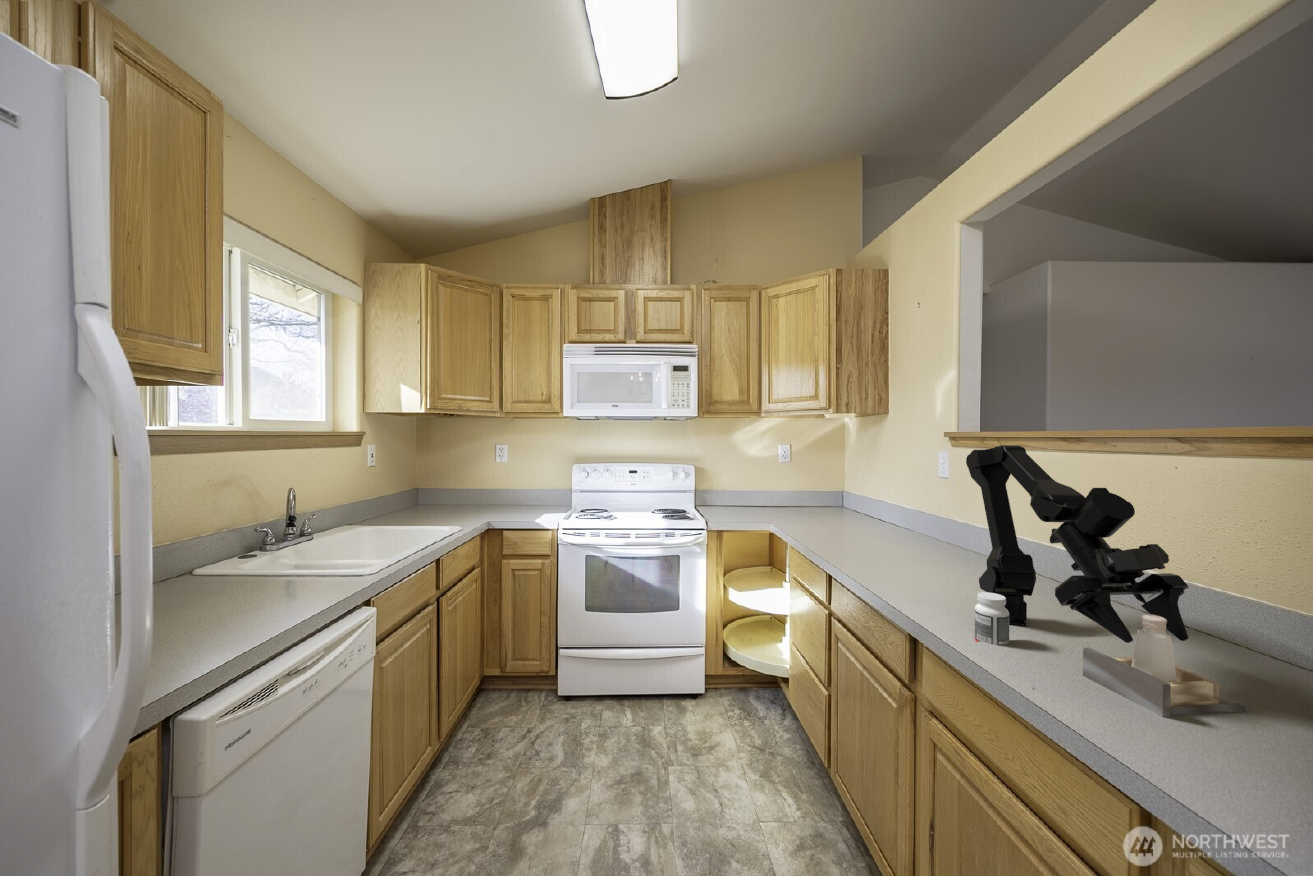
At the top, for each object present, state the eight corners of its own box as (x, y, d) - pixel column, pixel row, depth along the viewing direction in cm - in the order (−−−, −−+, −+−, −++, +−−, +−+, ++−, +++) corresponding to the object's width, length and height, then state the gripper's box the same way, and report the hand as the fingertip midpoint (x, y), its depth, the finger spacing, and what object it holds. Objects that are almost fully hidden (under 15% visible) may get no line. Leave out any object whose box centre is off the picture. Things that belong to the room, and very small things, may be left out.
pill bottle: (1003, 641, 99) (1004, 592, 98) (1013, 653, 93) (1014, 602, 93) (970, 637, 100) (971, 589, 100) (979, 649, 95) (979, 598, 95)
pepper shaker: (1179, 687, 77) (1180, 617, 76) (1176, 699, 73) (1177, 626, 73) (1131, 674, 81) (1132, 607, 81) (1126, 684, 77) (1127, 615, 77)
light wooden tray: (1152, 677, 82) (1153, 656, 82) (1219, 707, 73) (1219, 683, 73) (1103, 679, 81) (1103, 658, 81) (1164, 710, 72) (1164, 686, 72)
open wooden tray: (1135, 668, 88) (1136, 634, 88) (1251, 720, 72) (1252, 680, 72) (1053, 671, 86) (1053, 638, 86) (1152, 726, 70) (1153, 685, 70)
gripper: (1070, 527, 80) (1141, 620, 69) (1176, 525, 81) (1261, 616, 70) (1030, 562, 88) (1087, 650, 77) (1126, 560, 89) (1196, 646, 78)
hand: (1157, 641), depth 75 cm, fingers open, 9 cm apart
